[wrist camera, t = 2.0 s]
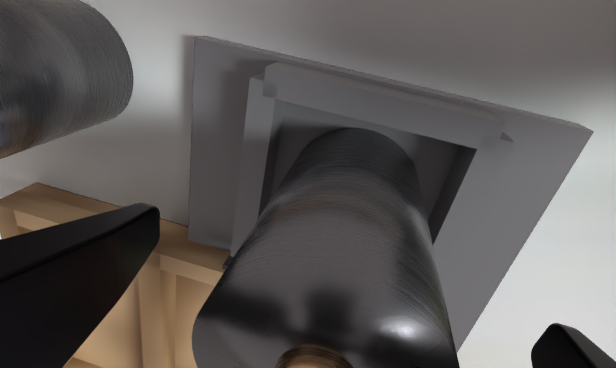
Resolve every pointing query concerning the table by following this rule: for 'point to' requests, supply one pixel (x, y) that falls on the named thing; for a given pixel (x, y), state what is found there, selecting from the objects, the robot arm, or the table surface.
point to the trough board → (131, 285)
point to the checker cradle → (395, 125)
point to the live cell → (333, 269)
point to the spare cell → (57, 71)
